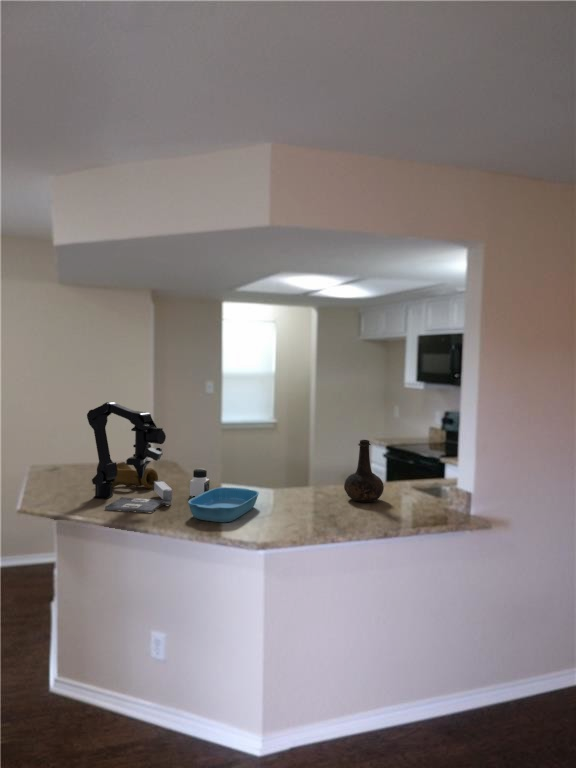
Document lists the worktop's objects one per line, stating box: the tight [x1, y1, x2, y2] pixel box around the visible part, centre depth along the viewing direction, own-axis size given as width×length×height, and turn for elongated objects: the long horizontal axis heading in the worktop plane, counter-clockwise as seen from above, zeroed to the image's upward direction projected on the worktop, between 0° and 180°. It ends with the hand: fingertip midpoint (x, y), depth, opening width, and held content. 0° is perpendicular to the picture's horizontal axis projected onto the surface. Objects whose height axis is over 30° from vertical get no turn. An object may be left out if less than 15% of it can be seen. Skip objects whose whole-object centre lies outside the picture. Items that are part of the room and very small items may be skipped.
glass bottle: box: [343, 439, 385, 503], centre depth 255 cm, size 18×18×28 cm
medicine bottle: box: [189, 468, 210, 497], centre depth 254 cm, size 7×7×12 cm
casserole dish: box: [187, 486, 260, 523], centre depth 228 cm, size 37×22×7 cm, turn 163°
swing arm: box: [153, 480, 173, 501], centre depth 243 cm, size 20×4×4 cm, turn 26°
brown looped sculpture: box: [111, 461, 159, 490], centre depth 266 cm, size 18×13×22 cm
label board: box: [104, 497, 172, 513], centre depth 232 cm, size 24×16×2 cm
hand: (141, 478), depth 237 cm, fingers closed
